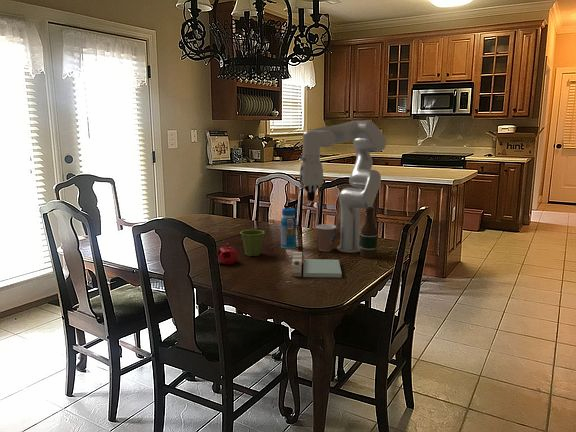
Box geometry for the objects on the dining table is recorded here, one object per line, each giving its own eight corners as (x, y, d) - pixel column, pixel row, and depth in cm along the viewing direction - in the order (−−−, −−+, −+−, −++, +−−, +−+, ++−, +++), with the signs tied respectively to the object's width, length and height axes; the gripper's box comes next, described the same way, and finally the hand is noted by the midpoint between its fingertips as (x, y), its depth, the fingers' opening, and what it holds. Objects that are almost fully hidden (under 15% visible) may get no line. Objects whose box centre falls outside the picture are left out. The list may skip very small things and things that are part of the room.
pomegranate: (227, 258, 225) (227, 239, 223) (243, 262, 219) (242, 242, 217) (212, 263, 217) (211, 243, 216) (227, 267, 211) (226, 247, 209)
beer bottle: (368, 259, 223) (370, 209, 218) (356, 256, 229) (358, 207, 224) (379, 257, 227) (381, 207, 223) (368, 253, 233) (369, 205, 229)
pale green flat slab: (303, 262, 218) (303, 259, 217) (338, 263, 217) (338, 259, 217) (303, 276, 198) (303, 272, 198) (341, 277, 197) (341, 273, 197)
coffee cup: (334, 252, 235) (335, 229, 232) (314, 251, 237) (314, 228, 234) (336, 247, 245) (337, 224, 242) (317, 246, 247) (317, 223, 244)
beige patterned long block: (301, 276, 198) (301, 262, 197) (291, 276, 198) (291, 262, 197) (302, 262, 218) (302, 249, 216) (293, 262, 218) (293, 249, 217)
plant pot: (268, 252, 235) (267, 230, 233) (260, 258, 224) (260, 235, 222) (245, 250, 239) (245, 228, 236) (236, 256, 227) (236, 234, 225)
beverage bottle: (277, 247, 244) (277, 209, 240) (285, 244, 251) (285, 207, 247) (292, 249, 240) (292, 211, 236) (299, 246, 247) (299, 208, 243)
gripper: (300, 160, 201) (300, 203, 205) (330, 159, 208) (329, 200, 212) (292, 159, 208) (292, 200, 212) (321, 158, 215) (320, 198, 219)
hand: (310, 200), depth 212 cm, fingers closed
